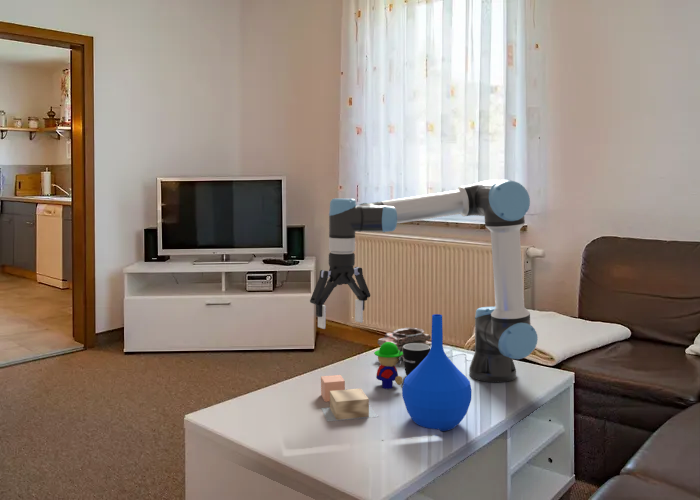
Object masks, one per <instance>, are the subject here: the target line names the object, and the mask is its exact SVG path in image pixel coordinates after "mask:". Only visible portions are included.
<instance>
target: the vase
mask: <svg viewBox="0 0 700 500" xmlns="http://www.w3.org/2000/svg"><path fill="white" fill-rule="evenodd" d="M443 332H444V331H443V314H440V313H439V314H438V313H435V314H432V315H431V335H430V336H431V338H430V340H431V341H430V343H431V347H430V352H429V353H428V355H427V356H426V357H425V358H424V359H423V361H422V362H421V363H420V364H419V365H418V366H417V367H416V368H415V369H414V370H413V371H412V372H411V373H410V374H409V375H408V376H407V375H406V376H405V378H404V380H403V383H402V384H403V385H402V389H401V394H402V399H403V403H404V405H405V408H406V411H407V414H408V415H409V417H410V418H411V419H412V422H414V423H415V424H416V425H418V426H419V427H422V428H426V429H430V430H431V429H433V430H439V431H440V432H446V431H450V430H452V429H454V428H456V427H457V426H458V425H459V424H460V423H461V422H462V421H463V419H464V418H465V416H466V415H467V413H468V410H469V407H470V405H471V402H472V390H473V389H472V386H471V381H470V380H469V378H468V377H466V375H464V374H463V372H462V371H461V370H460V369H459V368H458V367H457V366H456V365H455V364H454V362H452V361H451V360H452V359H450V358H449V357H448V356H447V354H446V351H445V350H444V347H443V342H444V340H443V338H444V337H443Z"/></svg>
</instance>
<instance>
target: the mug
mask: <svg viewBox="0 0 700 500" xmlns="http://www.w3.org/2000/svg"><path fill="white" fill-rule="evenodd" d="M430 349H431V347H430V346H429V345H426V344H421V343H410V344H406V345H404V346H403V359H404V360H403V359H402V360H403V367H404V372H405V375H406V377H407V376H408V375H409V374H410V373H411V372H412V371H413V370H414V369H415V368H416V367H417V366H418V365H419V364H420V363H421V362H422V361H423V359H424V358H425V357H426V356H427V355H428V353H429V352H430Z"/></svg>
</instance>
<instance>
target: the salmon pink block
mask: <svg viewBox="0 0 700 500" xmlns="http://www.w3.org/2000/svg"><path fill="white" fill-rule="evenodd" d="M345 381H346V380H345V379H344V378H343V376H342V375H341V374H335V375H321V376H320V394H321V397H322V400H323V401H324V402H325V403H326V402H330V391H336V390H346V382H345Z"/></svg>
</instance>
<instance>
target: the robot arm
mask: <svg viewBox="0 0 700 500" xmlns="http://www.w3.org/2000/svg"><path fill="white" fill-rule="evenodd" d="M530 198H531V197H530V195H529V192H528V190H527V188H526V187H525V186H523V184H521V183H520V182H518V181H515V180H511V179H487V180H483V181H479V182H476V183H473V184H472V183H471V184H468V185H461V186H459V187H458V188H457V189H456V190H449V191H443V192H437V193H428V194H422V195H416V196H410V197H409V196H408V197H402V198H396V199H390V200H382V201H377V202H370V203H369V202H368V203H367V202H363V203H359V204H357V200H356V199H355V198H344V197H343V198H340V197H339V198H337V197H335V198H332V199H331V200H330V202H329V213H328V221H329V222H328V229H329V231H328V235H329V236H328V251H329V253H328V266H329V269H328V270H323V269H320V271H319V277H318V279H317V282H316V285H315V287H314V290H313V292H312V295H311V296H310V299H309V302H310V303H311V304H313V305H315V317H317V328H320V329H323V330H325V329H326V321H327V320H326V319H327V318H326V317H327V315H326V314H327V313H326V312H327V310H326V309H327V305H324V304H325V303H326V301H327V300H328V298H329V297H330V295H331V294H332V293H333V290H334V289H335V288H337V286H342V285H348V287H349V288H350V289H351V291H352V292H353V293H354V296H356V298H357V299H354V303H355V304H354V307H355V308H354V322H356V323H361V324H362V323H363V322H364V321H363V320H364V319H363V318H364V313H363V311H365V307H366V306H365V303H366V302H365V301H368V299H369V298H370V297H371V292H370V291H369V288H368V285H367V282H366V280H365V276H364V274H363V273H364V271H363V267H359V266H355V263H356V261H355V259H356V257H355V256H356V255H355V253H354V252H355V251H356V232H360V233H361V232H366V233H367V232H368V233H369V232H373V233H374V232H376V233H380V232H381V233H386V232H387V233H388V232H390V233H391V232H393V231H395V230H396V229H397V226H398V225H397V224H402V223H410V222H415V221H422V220H429V219H435V218H442V217H448V216H455V215H461V216H462V217H468V216H470V217H471V216H481V217H484V226H485V229H487V230H488V231H490V232H489V233H490V240H491V242H490V243H491V254H492V255H491V256H492V257H491V258H492V271H493V272H492V273H493V287H494V302H495V305H494V306H482V307H478V308H477V309H476V311H475V316H474V323H475V325H474V354H473V357H472V358H471V359H472V360H471V362H470V365H469V369H468V370H469V372H468V373H469V376H470V377H471V378H472V379H475V380H478V381H480V382H481V381H482V382H488V383H506V382H512V381H513V379H514V380H515V379H516V378H517V369H516V366H515V365H516V364H515V361H514V360H521V359H525V358H527V357H528V356H530V355H532V354H531V353H532V352H533V351H535V349H536V348H537V345H538V338H539V337H538V333H537V331H536V329H535V328H534V326H532V323H531V313H530V310H528V309H527V308H526V307H525V295H524V282H523V281H524V280H523V278H524V277H523V263H522V246H521V244H522V243H521V229H522V227H524V226H525V224H526V223H525V215H526V213H527V212H528V211H529V209H530V205H531V200H530ZM353 276H354V277H353ZM354 278H355V279H354ZM356 282H357V283H356Z"/></svg>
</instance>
